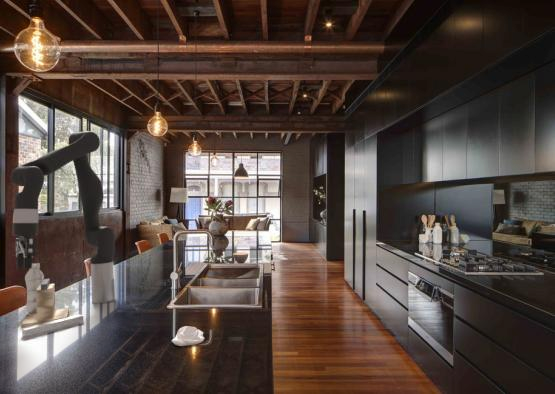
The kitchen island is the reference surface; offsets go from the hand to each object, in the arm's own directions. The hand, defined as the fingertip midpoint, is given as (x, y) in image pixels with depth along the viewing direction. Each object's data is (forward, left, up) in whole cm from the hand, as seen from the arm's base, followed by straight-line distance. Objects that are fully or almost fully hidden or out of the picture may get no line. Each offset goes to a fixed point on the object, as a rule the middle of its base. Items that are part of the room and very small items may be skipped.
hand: (23, 268), depth 128 cm
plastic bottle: (-1, -23, -22) cm, 31 cm away
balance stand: (-6, -9, -22) cm, 24 cm away
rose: (-47, +44, -22) cm, 68 cm away
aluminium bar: (-9, +6, -22) cm, 24 cm away
